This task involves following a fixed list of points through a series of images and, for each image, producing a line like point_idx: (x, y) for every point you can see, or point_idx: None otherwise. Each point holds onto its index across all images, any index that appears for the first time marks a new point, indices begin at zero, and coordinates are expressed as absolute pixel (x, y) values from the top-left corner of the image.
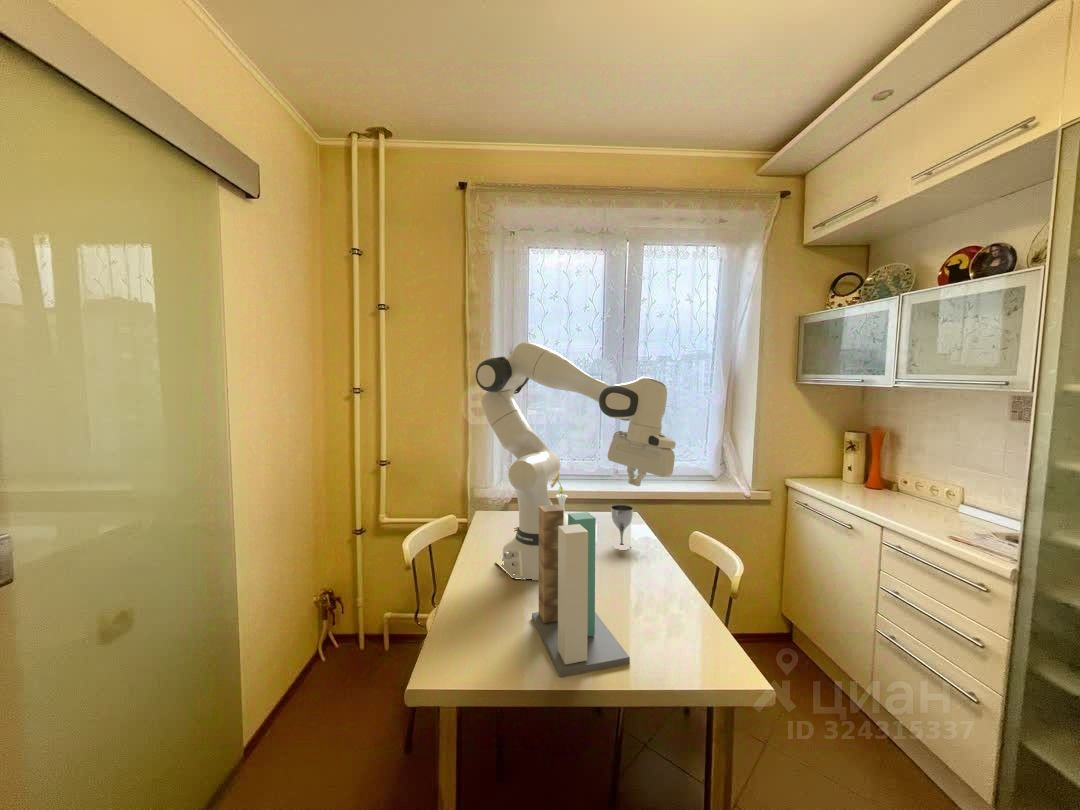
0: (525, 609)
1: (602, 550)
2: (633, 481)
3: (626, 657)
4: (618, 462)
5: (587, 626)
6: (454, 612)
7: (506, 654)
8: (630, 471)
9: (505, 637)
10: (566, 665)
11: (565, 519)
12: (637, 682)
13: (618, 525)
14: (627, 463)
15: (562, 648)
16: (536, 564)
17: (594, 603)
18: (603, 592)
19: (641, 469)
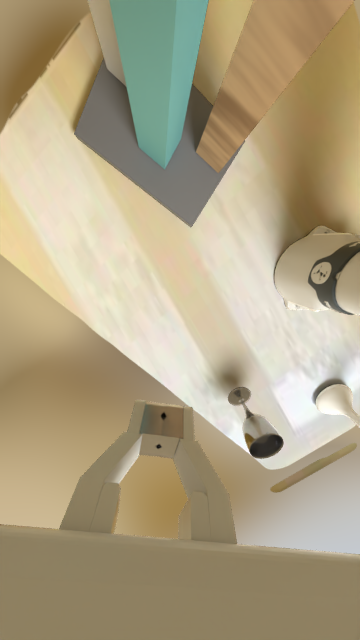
0: (262, 162)
1: (254, 375)
2: (157, 417)
3: (76, 128)
4: (351, 568)
5: (88, 3)
6: (352, 65)
7: (219, 15)
8: (200, 492)
9: None
10: None
11: (333, 403)
12: (45, 102)
13: (254, 414)
14: (243, 594)
15: None
16: (307, 250)
17: (132, 114)
18: (199, 281)
19: (35, 546)
